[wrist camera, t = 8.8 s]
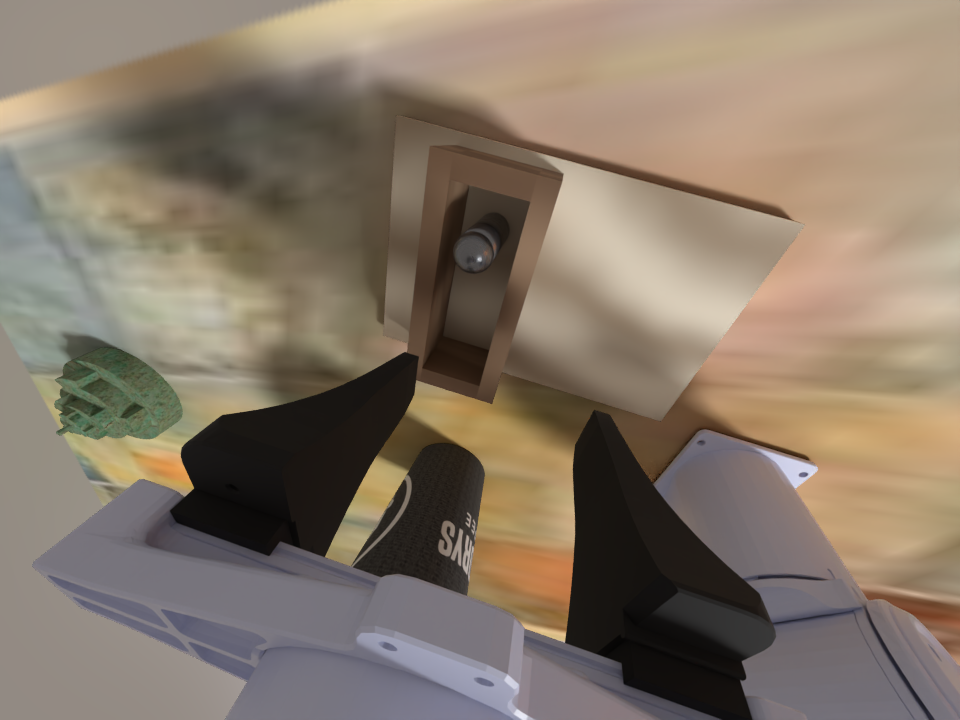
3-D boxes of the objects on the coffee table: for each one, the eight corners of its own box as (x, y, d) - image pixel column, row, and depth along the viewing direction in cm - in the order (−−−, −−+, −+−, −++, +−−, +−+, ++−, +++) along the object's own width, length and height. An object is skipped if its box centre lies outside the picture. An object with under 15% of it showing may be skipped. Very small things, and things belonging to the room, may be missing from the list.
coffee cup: (452, 511, 36) (390, 706, 23) (384, 454, 33) (273, 641, 21) (522, 482, 31) (491, 710, 18) (449, 414, 28) (356, 625, 16)
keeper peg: (504, 250, 19) (484, 284, 15) (474, 241, 19) (444, 272, 15) (513, 217, 18) (494, 243, 14) (481, 208, 18) (451, 230, 14)
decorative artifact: (150, 351, 33) (73, 342, 35) (60, 395, 27) (-26, 382, 29) (199, 428, 38) (130, 417, 40) (133, 479, 32) (56, 463, 34)
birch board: (657, 411, 24) (660, 421, 23) (389, 329, 25) (383, 335, 24) (793, 220, 16) (805, 224, 16) (404, 116, 18) (396, 115, 17)
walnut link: (502, 367, 23) (492, 403, 20) (427, 343, 24) (404, 376, 20) (563, 173, 17) (562, 181, 13) (456, 145, 17) (429, 145, 14)
